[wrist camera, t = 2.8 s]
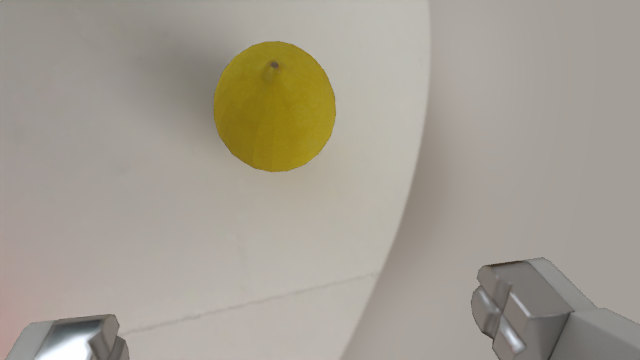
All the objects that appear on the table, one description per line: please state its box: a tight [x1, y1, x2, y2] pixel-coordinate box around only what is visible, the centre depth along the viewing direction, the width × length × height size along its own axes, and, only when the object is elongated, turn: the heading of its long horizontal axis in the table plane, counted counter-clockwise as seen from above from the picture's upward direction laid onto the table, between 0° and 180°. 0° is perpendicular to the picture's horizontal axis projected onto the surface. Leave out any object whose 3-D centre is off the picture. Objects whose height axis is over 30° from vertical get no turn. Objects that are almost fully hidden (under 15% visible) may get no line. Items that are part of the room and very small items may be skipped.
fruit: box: [214, 41, 336, 172], centre depth 18 cm, size 6×6×8 cm
